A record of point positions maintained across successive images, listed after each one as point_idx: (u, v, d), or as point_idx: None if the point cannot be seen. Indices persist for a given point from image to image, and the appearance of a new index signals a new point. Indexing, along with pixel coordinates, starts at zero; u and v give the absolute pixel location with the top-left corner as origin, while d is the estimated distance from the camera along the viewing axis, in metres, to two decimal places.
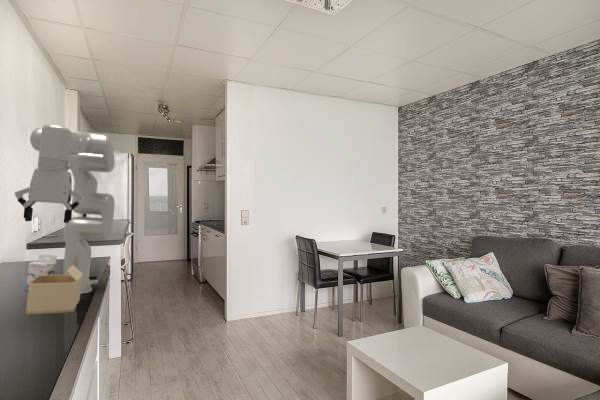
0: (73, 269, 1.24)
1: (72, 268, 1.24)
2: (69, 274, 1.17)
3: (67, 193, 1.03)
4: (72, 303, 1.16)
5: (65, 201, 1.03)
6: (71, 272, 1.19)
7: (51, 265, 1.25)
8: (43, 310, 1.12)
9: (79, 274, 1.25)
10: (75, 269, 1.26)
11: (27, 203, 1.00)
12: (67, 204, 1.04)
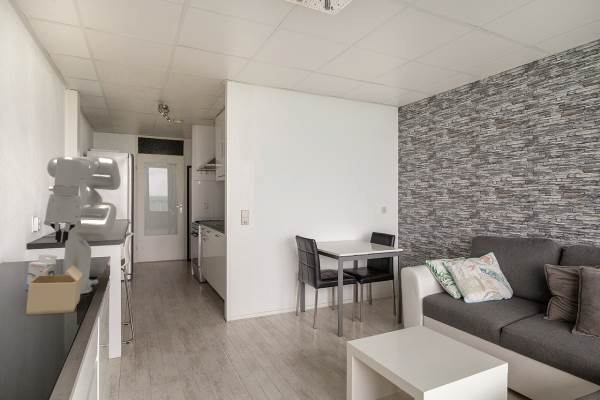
0: (73, 269, 1.24)
1: (72, 268, 1.24)
2: (69, 274, 1.17)
3: None
4: (72, 303, 1.16)
5: None
6: (71, 272, 1.19)
7: (51, 265, 1.25)
8: (43, 310, 1.12)
9: (79, 274, 1.25)
10: (75, 269, 1.26)
11: None
12: None
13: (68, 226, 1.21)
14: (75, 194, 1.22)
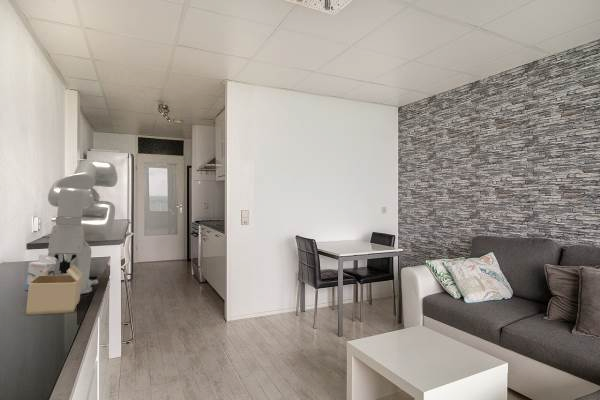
0: (74, 269, 1.24)
1: (73, 268, 1.24)
2: (70, 274, 1.17)
3: None
4: (72, 303, 1.16)
5: None
6: (72, 272, 1.19)
7: (51, 265, 1.25)
8: (43, 310, 1.12)
9: (79, 274, 1.25)
10: (76, 269, 1.26)
11: None
12: None
13: (70, 257, 1.21)
14: (77, 225, 1.22)
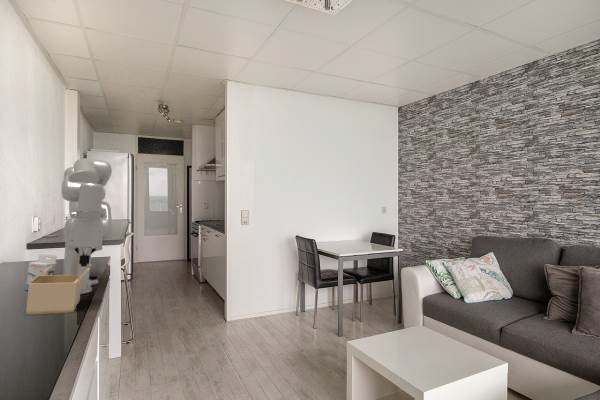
0: (88, 269, 1.26)
1: None
2: (84, 273, 1.19)
3: None
4: (72, 303, 1.16)
5: None
6: None
7: (51, 265, 1.25)
8: (43, 310, 1.12)
9: None
10: (87, 269, 1.28)
11: None
12: None
13: (90, 250, 1.24)
14: (97, 219, 1.25)
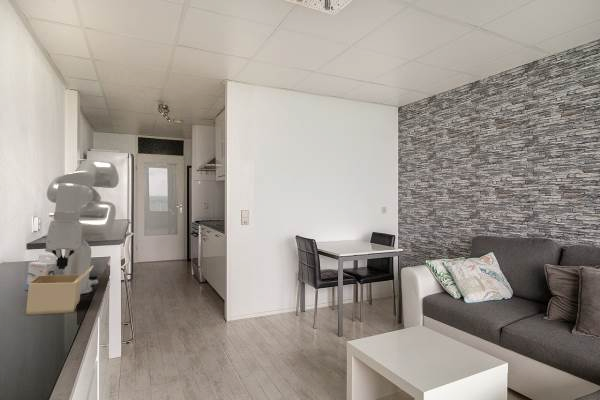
0: (89, 270, 1.26)
1: (90, 269, 1.27)
2: (85, 274, 1.19)
3: None
4: (72, 303, 1.16)
5: None
6: (87, 273, 1.21)
7: (51, 265, 1.25)
8: (43, 310, 1.12)
9: None
10: (88, 270, 1.28)
11: None
12: None
13: (68, 252, 1.21)
14: (76, 220, 1.22)
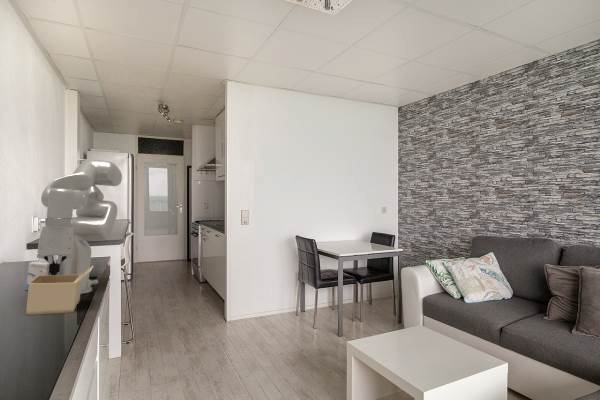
0: None
1: None
2: (85, 274, 1.19)
3: None
4: (72, 303, 1.16)
5: None
6: (87, 273, 1.21)
7: None
8: (43, 310, 1.12)
9: None
10: (88, 270, 1.28)
11: None
12: None
13: (60, 258, 1.20)
14: (68, 226, 1.21)
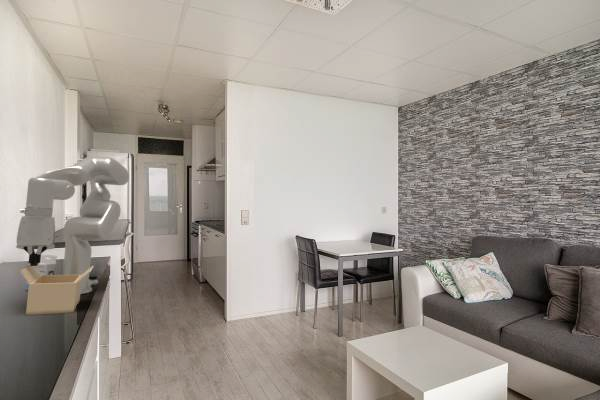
0: None
1: (90, 269, 1.27)
2: (85, 274, 1.19)
3: None
4: (72, 303, 1.16)
5: None
6: None
7: None
8: (43, 310, 1.12)
9: None
10: (89, 270, 1.28)
11: None
12: None
13: (40, 249, 1.18)
14: (48, 216, 1.18)
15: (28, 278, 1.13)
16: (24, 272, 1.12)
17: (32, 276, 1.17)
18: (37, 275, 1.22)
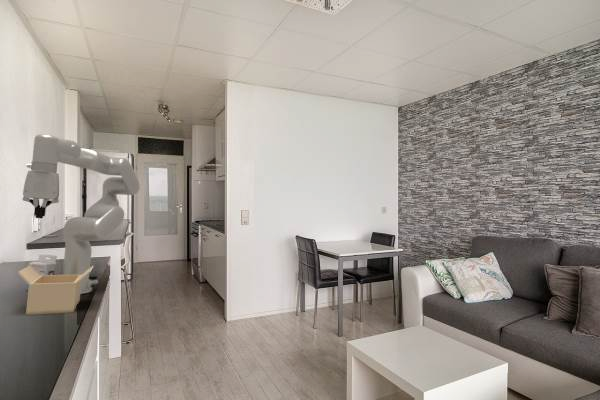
0: None
1: (90, 269, 1.27)
2: (85, 274, 1.19)
3: None
4: (72, 303, 1.16)
5: None
6: None
7: (28, 266, 1.22)
8: (43, 310, 1.12)
9: None
10: (89, 270, 1.28)
11: None
12: None
13: (45, 202, 1.24)
14: (53, 171, 1.25)
15: (27, 278, 1.12)
16: (22, 273, 1.12)
17: (31, 276, 1.17)
18: (37, 275, 1.22)
